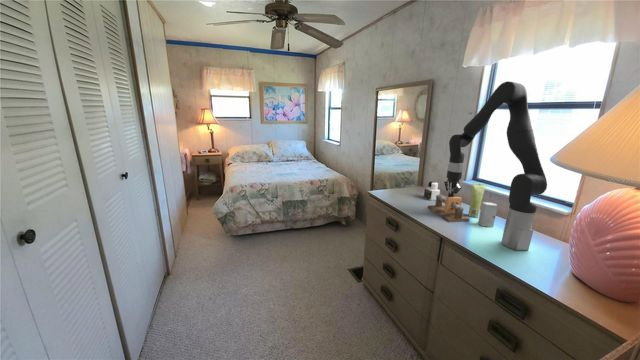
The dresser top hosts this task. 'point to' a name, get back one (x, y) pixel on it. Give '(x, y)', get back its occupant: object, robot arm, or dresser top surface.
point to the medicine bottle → (431, 191)
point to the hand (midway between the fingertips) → (450, 199)
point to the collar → (452, 200)
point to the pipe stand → (450, 217)
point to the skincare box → (487, 214)
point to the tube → (476, 199)
